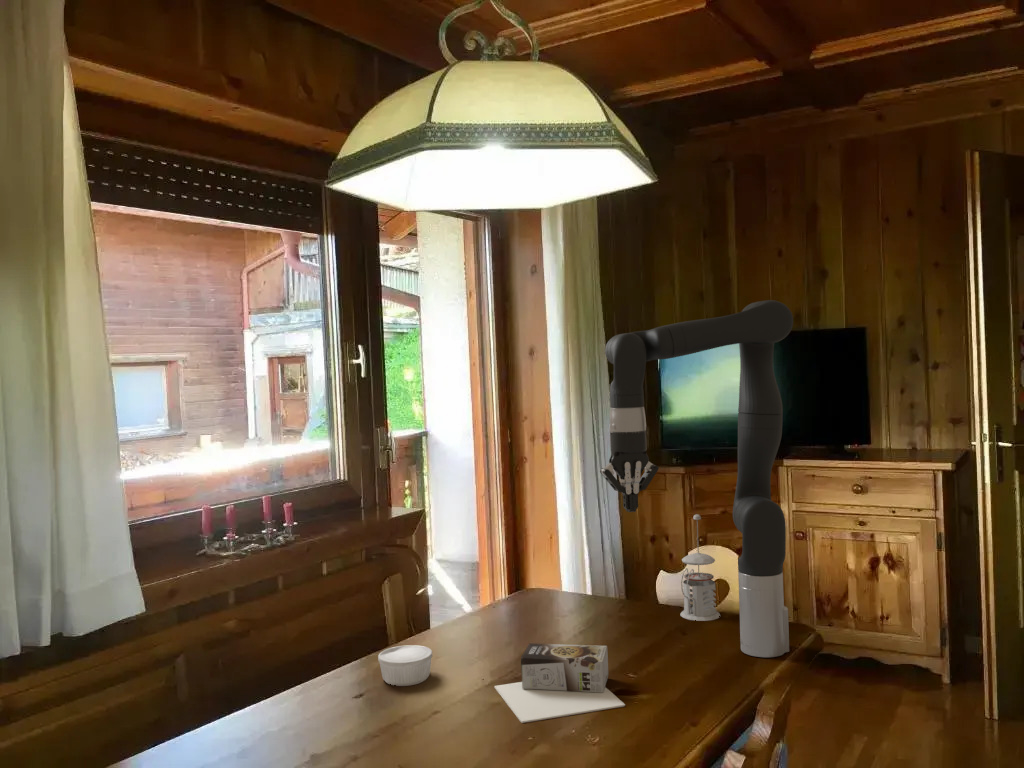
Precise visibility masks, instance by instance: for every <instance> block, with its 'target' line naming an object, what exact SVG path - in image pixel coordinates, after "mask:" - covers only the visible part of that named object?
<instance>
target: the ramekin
mask: <svg viewBox="0 0 1024 768" xmlns="http://www.w3.org/2000/svg"><path fill="white" fill-rule="evenodd" d="M377 657H378V658H377V659H378V663H379V666H380V671H381V672H380V673H381V676H382V679H383V681H385V683H387V684H388V685H390V684H391V686H394V685H396V686H395V687H406V686H408V687H409V686H414V685H419V684H421V683H423V682H425V681H426V680H427V679H428V678H429V676H430V674H431V666H432V658H433V650H432V649H431V648H429V647H428V646H423V645H418V644H417V645H415V644H408V645H407V644H406V645H398V646H393V647H389V648H386V649H384V650H382V651H381V652H380V653H379V654H378V656H377Z"/></svg>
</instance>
